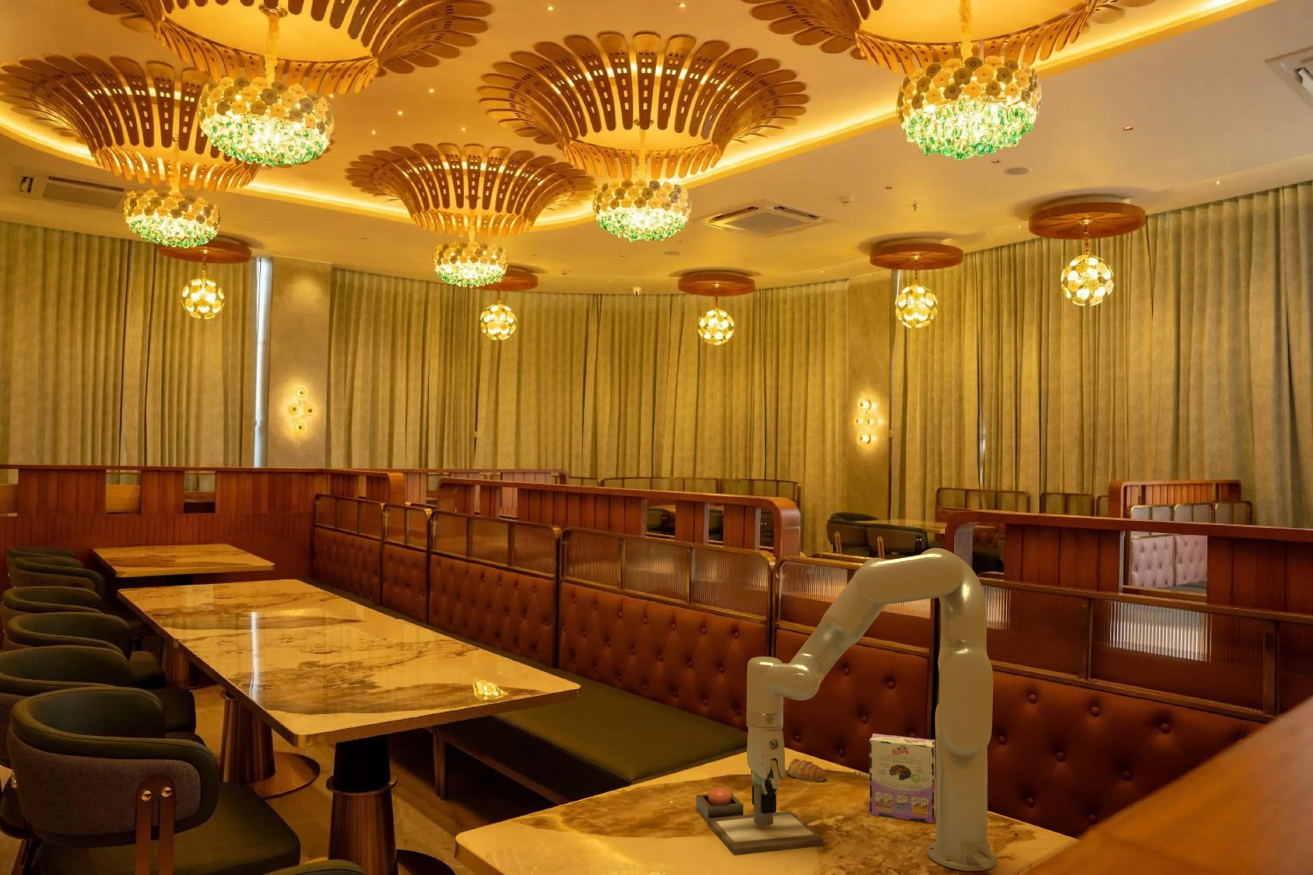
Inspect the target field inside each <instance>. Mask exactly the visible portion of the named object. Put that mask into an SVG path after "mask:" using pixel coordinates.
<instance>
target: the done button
mask: <svg viewBox="0 0 1313 875" xmlns="http://www.w3.org/2000/svg"><path fill="white" fill-rule="evenodd" d="M731 793H732V790H731V789H729V788H728V787H723V786H713V787H710V788H708V790H707V794H708V803H709V804H711V805H714V806H715V805H726V804H731Z"/></svg>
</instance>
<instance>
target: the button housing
mask: <svg viewBox="0 0 1313 875" xmlns="http://www.w3.org/2000/svg"><path fill="white" fill-rule="evenodd" d="M695 799H696V801H695V803H696V804H695V809H696V810H697V811H698V813H699V814H700V815H701V816H702V817H703V818H704V819H705V820H706V821H707V818H718V817H728V816H739V815H744V804H743V803H742V802H741V801H740V800H739V799H738V798H737V796H735V795H734V794H733V793H732V792H731V804H726V805H715V806H714V805H711V804H709V803H708V793H706V794H705V793H704V794H703V793H702V794H696V796H695Z"/></svg>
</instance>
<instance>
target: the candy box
mask: <svg viewBox="0 0 1313 875" xmlns="http://www.w3.org/2000/svg"><path fill="white" fill-rule="evenodd" d="M868 744H869V749H868V750H869V812H868V814H869V815H871V816H877V817H878V816H879V817H886V818H893V819H894V818H895V819H899V820H900V819H901V820H908V821H909V820H910V821H916V822H922V823H933V824H935V822H936V739H927V738H919V737H918V738H917V737H910V736H908V737H907V736H900V735H889V734H881V733H872V734H871V737H870V738H869V740H868Z"/></svg>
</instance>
